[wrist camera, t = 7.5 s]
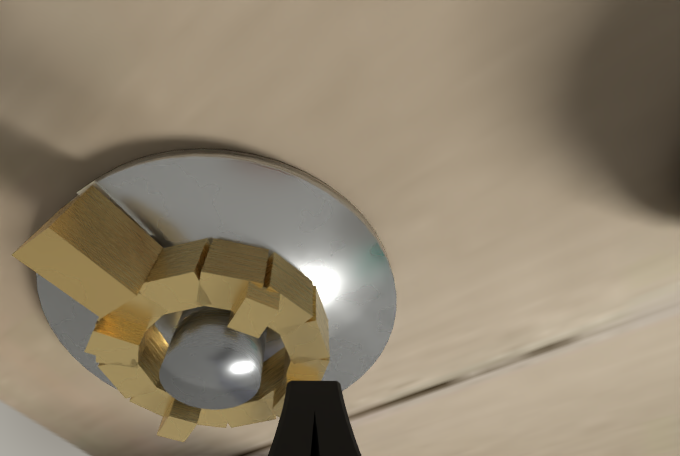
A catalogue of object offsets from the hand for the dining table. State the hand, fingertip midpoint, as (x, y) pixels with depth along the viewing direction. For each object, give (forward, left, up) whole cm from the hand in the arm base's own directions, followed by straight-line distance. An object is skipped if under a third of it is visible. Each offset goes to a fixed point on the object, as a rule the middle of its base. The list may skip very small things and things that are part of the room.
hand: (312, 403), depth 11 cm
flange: (-4, +6, -10) cm, 12 cm away
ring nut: (-2, +6, -8) cm, 11 cm away
